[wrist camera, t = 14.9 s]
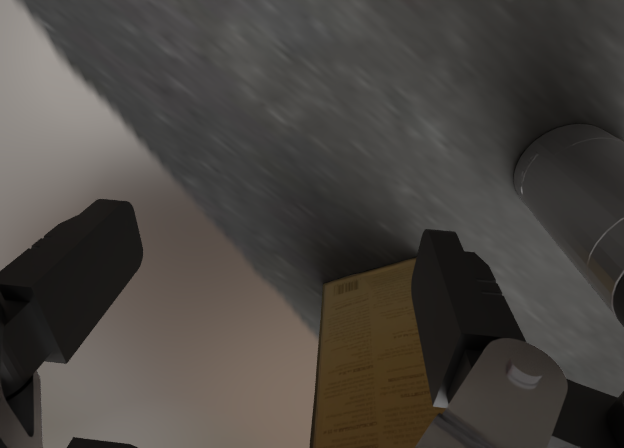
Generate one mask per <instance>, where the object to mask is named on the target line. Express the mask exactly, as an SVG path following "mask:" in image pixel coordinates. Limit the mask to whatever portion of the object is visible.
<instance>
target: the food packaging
mask: <svg viewBox="0 0 624 448" xmlns="http://www.w3.org/2000/svg"><path fill="white" fill-rule="evenodd" d="M416 258H417V257H416ZM416 258H412V259H408V260H405V261H401V262H398V263H394V264H391V265H387V266H384V267H380V268H377V269H373V270H369V271H366V272H363V273H359V274H354V275H350V276H347V277H344V278H341V279H338V280H334V281H331V282H328V283H325V284H323V293H322V308H321V320H320V332H319V344H318V357H317V369H316V383H315V395H314V406H313V416H312V427H311V438H310V448H415V446H416V445H417V443H418V442H419V440H420V439H421V437H422V436H423V434H424V433H425V431H426V430H427V428H428V427H429V425H430V424H431V422H432V421H433V420H434V418H435V417H436V416H437V415H438V414H439V413H441V414H442V413H443V412H444V411H445V409H446V408H441V407H433V405H432V400H431V394H430V389H429V384H428V379H427V374H426V369H425V364H424V358H423V353H422V348H421V343H420V338H419V333H418V328H417V322H416V317H415V312H414V307H413V302H412V296H411V281H412V274H413V270H414V266H415V262H416Z"/></svg>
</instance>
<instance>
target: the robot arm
mask: <svg viewBox="0 0 624 448" xmlns="http://www.w3.org/2000/svg"><path fill="white" fill-rule="evenodd" d="M514 186H515V189H516V192H517V194H518V195H519V197H520V198H521V200H522V201H523V202H524V203H525V205H526V206H527V207H528V208H529V210H530V211H531V212H532V213H533V214H534V216H535V217H536V218H537V220H538V221H539V222H540V223H541V225H542V226H543V227H544V228H545V230H546V231H547V232H548V233H549V235H550V236H551V237H552V238H553V240H554V241H555V242H556V243H557V244H558V246H559V247H560V248H561V249H562V251H563V252H564V253H565V254H566V256H567V257H568V258H569V259H570V261H571V262H572V263H573V264H574V265H575V267H576V268H577V269H578V270H579V272H580V273H581V274H582V275H583V277H584V278H585V279H586V280H587V282H588V283H589V284H590V285H591V286H592V288H593V289H594V290H595V291H596V292H597V294H598V295H599V296H600V297H601V299H602V300H603V301H604V302H605V304H606V305H607V306H608V307H609V309H610V310H611V311H612V312H613V313H614V315H615V316H616V317H617V319H618V320H619V321H620V323H621V324H622V325H623V327H624V141H622V140H620V139H618V138H617V137H615V136H613V135H611V134H610V133H608V132H606V131H604V130H602V129H601V128H599V127H595V126H592V125H588V124H572V125H566V126H563V127H559V128H556V129H554V130H552V131H550V132H547V133H545V134H544V135H542V136H541V137H540V138H538V139H537V140H535V141H534V142H533V143H532V144H531V145H530V146H529V147H528V148H527V149H526V150H525V152H524V153H523V154H522V156H521V157H520V159H519V161H518V163H517V165H516V169H515V173H514ZM142 258H143V247H142V242H141V238H140V234H139V229H138V225H137V221H136V217H135V212H134V209H133V207H132V205H131V204H130V203H129V202H127V201H117V200H107V199H98V200H96V201H95V202H94V203H92V204H91V205H90V206H89V207H88V208H86V209H85V210H84V211H83V212H82V213H80V214H79V215H77V216H75V217H73V218H71V219H69V220H66V221H64V222H62V223H60V224H58V225H57V226H56V227H55V228H53V229H52V230H51V231H50V232H48V233H47V234H46V235H45V236H44V238H43V239H42V238H41V239H40V240H38V241H37V242H36V243H35V244H33V245H32V248H31V249H27V250H26V251H25V252H23V254H21V255H20V256H19V257H17V258H16V259H15V260H14V261H12V262H11V263H10V264H9V265H7V266H6V267H5V268H4V269H2V270H1V271H0V448H43V441H42V440H43V437H42V407H41V380H40V376H39V374H38V372H37V369H38V368H39V367H40V365H41V364H42V363H43V362H44V361H47V362H56V363H64V364H66V363H67V362H68V361H69V360H70V358H71V357H72V356H73V355H74V353H75V352H76V351H77V349H78V348H79V347H80V345H81V344H82V343H83V341H84V340H85V339H86V337H87V336H88V335H89V334H90V332H91V331H92V329H93V328H94V327H95V326H96V324H97V323H98V321H99V320H100V319H101V318H102V316H103V315H104V314H105V312H106V311H107V310H108V308H109V307H110V306H111V305H112V303H113V302H114V301H115V299H116V298H117V297H118V295H119V294H120V293H121V291H122V290H123V289H124V287H125V286H126V285H127V283H128V282H129V281H130V279H131V278H132V277H133V275H134V274H135V273H136V272H137V270H138V269H139V267H140V265H141V261H142ZM411 296H412V302H413V307H414V312H415V317H416V322H417V328H418V333H419V338H420V343H421V348H422V353H423V358H424V364H425V369H426V374H427V379H428V384H429V389H430V394H431V400H432V405H433V407H441V408H446V409H445V411H444V412H443V413H442V414H441V413H439V414H438V415H437V416H436V417H435V418H434V420H433V421H432V422H431V424H430V425H429V427H428V428H427V430H426V431H425V433H424V434H423V436H422V437H421V439H420V440H419V442H418V443H417V445H416V446H415V448H624V391H623V392H622V394H621V395H620V396H619V397H618V398H617V397H614V396H611V395H609V394H606V393H603V392H600V391H597V390H595V389H592V388H589V387H586V386H584V385H581V384H578V383H575V382H573V381H570V380H568V379H566V377H565V375H564V373H563V371H562V369H561V368H560V367H559V365H558V364H557V363H556V362H555V361H554V360H553V359H552V358H551V357H550V356H549V355H548V354H546V353H545V352H544V351H542V350H541V349H539V348H537V347H536V346H534V345H531V344H529V343H527V342H526V340H525V338H524V336H523V334H522V332H521V330H520V328H519V326H518V324H517V322H516V320H515V318H514V316H513V314H512V312H511V310H510V308H509V306H508V304H507V302H506V300H505V298H504V296H502V292H501V290H500V288H499V286H498V284H497V283H496V280H495V278H494V276H493V274H492V272H491V269H490V267H489V266H488V265H487V264H486V263H485V262H484V261H483V260H482V259H481V258H480V257H479V256H478V255H477V254H475V253H474V252H465V251H464V250H463V248H462V245H461V243H460V241H459V238H458V236H457V234H456V233H455V232H452V231H441V230H430V229H426V230H425V231H424V232H423V235H422V238H421V242H420V246H419V250H418V254H417V258H416V262H415V266H414V270H413V274H412V281H411ZM67 448H137V447H135V446H133V445H131V444H124V443H115V442H107V441H99V440H90V439H83V438H75V437H73V439H72V440H71V442H70V443H69V445H68V447H67Z"/></svg>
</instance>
